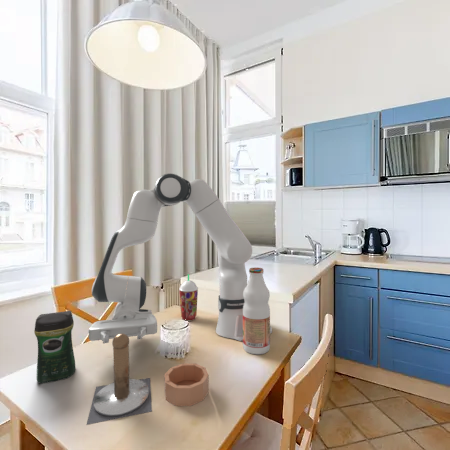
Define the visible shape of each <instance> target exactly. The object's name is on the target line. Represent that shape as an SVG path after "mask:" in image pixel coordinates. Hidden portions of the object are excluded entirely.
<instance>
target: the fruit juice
mask: <svg viewBox="0 0 450 450" xmlns="http://www.w3.org/2000/svg"><path fill="white" fill-rule="evenodd" d="M248 272H249V278H248V280H247V286H246V287H245V289H244V291H243V297H244V305H243V341H242V348H243V350H244V351H245V352H246V353H248V354H252V355H264V354H266V353H268V352H269V351H270V348H271V333H270V326H271V308H270V304H269V301H270V290H269V289H268V287H267V285H266V281H265V280H264V276H263V275H264V268H263V267H250V268H248Z"/></svg>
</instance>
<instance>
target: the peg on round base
mask: <svg viewBox="0 0 450 450" xmlns="http://www.w3.org/2000/svg"><path fill="white" fill-rule="evenodd" d="M111 343H112V351H113V355H112V356H113V382H111V383H109V384H106V385H107V386H105V387H104V388H102V389H101V390H100V391H99V392H98V393H97V394H96V396H95V398H94V410H95V411H96V412H97V413H98V414H99V415H102V416H105V417H119V416H123V415H127V414H129V413H132V412H134V411H136V410H137V409H139V408H140V407H141V406H142V405H144V403H145V402H146V401H147V399H148V396H149V388H148V385H147V384H146V383H145V382H143V381H141V380H139V379H136V378H130V356H129V355H130V353H129V352H130V346H129V345H130V337H128V336H127V335H126V334H123V333H121V334H118V335H116V336H115V337H114V338H113V339H112V342H111Z"/></svg>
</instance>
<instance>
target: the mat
mask: <svg viewBox="0 0 450 450" xmlns="http://www.w3.org/2000/svg"><path fill="white" fill-rule="evenodd" d="M138 380H141V381H143V382H145V383H146V384H147V385H148V388H149V396H148V399H147V401H146V402H145V403H144V405H142V406H141V407H140V408H139V409H137V410H136V411H134V412H132V413H129V414H127V415H123V416H119V417H105V416H102V415H99V414H98V413H97V412H96V411H95V410H94V398H95V396H96V394H97V393H98V392H99V391H100V390H101V389H102V388H104V387H105V386H107V385H108V384H103V385H99V386H95V388H94V389H95V390H94V395H93V398H92V402H91V405H90V409H89V413H88V417H87V421H86V426H87V425H92V424H96V423H97V424H98V423H101V422H107V421H112V420H117V419H122V418H128V417H132V416H136V415H142V414H146V413H147V414H148V413H151V412H153V409H152V391H151V389H152V388H151V377H145V378H141V379H138Z"/></svg>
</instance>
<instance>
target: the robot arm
mask: <svg viewBox="0 0 450 450" xmlns="http://www.w3.org/2000/svg"><path fill="white" fill-rule="evenodd" d="M181 202H182V203H185V204H187V205H188V207H190V209H191V211H192V213H193V214H194V216H195V217H196V219H197V220H198V222H199V223H200V225H201V226H202V227H203V229H204V231H205V232H206V233H207V235H208V236H209V237H210V239H211V240H212V242H213V243H214V244H215V246H216V255H217V264H218V265H217V267H218V274H219V276H218V279H219V295H218V300H217V308H218V317H217V319H218V320H217V323H216V324H217V325H216V328H215V332H216V334H217V335H219V336H220V337H223V338H225V339H227V338H228V339H233V340H235V341H239V342H241V341H242V342H243V305H244V297H243V291H244V289H245V287H246V286H247V284H248V274H247V269H246V265H245V263H246V262H248V261H249V260H250V259H251V257H252V255H253V246H252V244H251V242H250V240H249V239H248V238H247V236H246V235H245V234H244V232H243V231H242V230H241V229H240V227H239V226H238V224H237V223H236V222H235V221H234V219H233V218H232V217H231V216H230V214H229V213H228V210H227V209H226V208H225V206H224V205H223V203H222V202H221V200H220V198H219V197H218V196H217V194H216V193H215V191H214V190H213V189H212V188H211V186H210V185H209V184H208V183H207V182H206V181H205V180H204V179H202V178H201V179H200V178H197V179H196V178H195V179H193V180H190V181H189V180H187V179H185V178H183V177H181V176H179V175H178V174H175V173H165V174H162V175H161V176H160V177H158V179H157V180H156V182H155V185H154V188H153V189H139V190H137V191H135V192H133V195H132V197H131V199H130V203H129V206H128V210H127V213H126V214H127V215H126V219H125V222H124V224H123V226H122V227H121V228H120V229H118V230H116V231H114V233H113V234H112V235H113V236H112V237H111V239H110V242H109V244H108V247H107V249H106V252H105V255H104V258H103V260H102V263H101V265H100V268H99V271H98V273H97V275H96V277H95V279H94V281H93V283H92V287H91V296H92V297H93V298H94V300H96V301H97V302H98V303H117V304H116V306H115V308H114V312H113V315H112V318H111V319H105V320H104V319H103V320H98V321H95V322H93V323H92V324H91V326H90V327H89V328H88V340H89V341H92V342H93V341H101V342H102V344H108V343H110V340H111V339H112V340H113V339H114V337H115V336H116V335H118V334H121V333H123V334H126V335H127V336H128V337H129V338H131V337H136V338H137V340H142V339H143V337H145V336H149V335H155V334H157V333H158V321H157V318H156V316H155V315H154V314H153V311H152V310H151V309H142V307H144V305H145V304H146V298H147V283H146V281H145V279H144V278H143V277H142V276H134V275H122V274H121V275H120V274H114V273H113V269H114V267H115V263H116V262H117V261H116V260H117V257H118V255H119V253H120V252H121V251H122V250H124V249H126V248H129V247H132V246H137V245H142V244H145V243H146V242H149V241H150V240H151V239H153V237H154V236H155V234H156V231H157V228H158V222H159V221H158V220H159V216H160V211H161V210H162V207H172V206H176V205H178V204H179V203H181ZM272 333H273V328H272V326H271V325H270V334H272Z"/></svg>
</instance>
